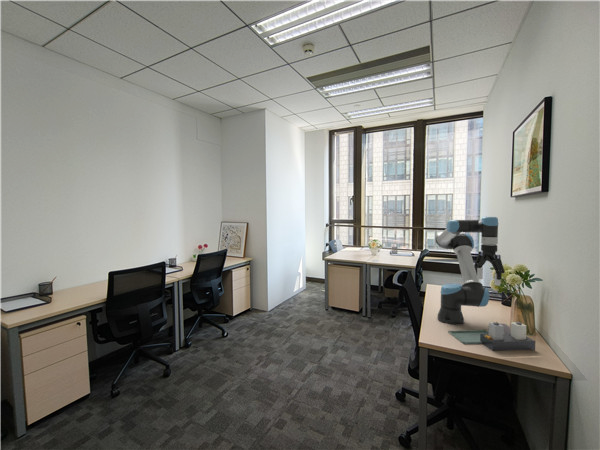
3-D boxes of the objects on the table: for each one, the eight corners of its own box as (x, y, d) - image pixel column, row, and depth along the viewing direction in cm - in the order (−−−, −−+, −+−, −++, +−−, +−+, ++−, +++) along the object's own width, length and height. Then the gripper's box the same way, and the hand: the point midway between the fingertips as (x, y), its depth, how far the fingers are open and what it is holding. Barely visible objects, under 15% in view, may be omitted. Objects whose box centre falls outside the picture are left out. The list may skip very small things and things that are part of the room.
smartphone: (505, 323, 170) (519, 334, 155) (505, 325, 170) (519, 335, 155) (492, 322, 171) (504, 332, 157) (492, 324, 171) (504, 334, 157)
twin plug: (488, 341, 143) (488, 321, 143) (496, 341, 144) (497, 321, 143) (494, 345, 139) (495, 324, 139) (503, 345, 139) (503, 324, 139)
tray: (448, 333, 158) (448, 330, 158) (485, 332, 159) (485, 329, 159) (463, 344, 144) (463, 342, 144) (504, 344, 145) (504, 341, 145)
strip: (480, 343, 146) (480, 332, 145) (520, 342, 146) (520, 331, 146) (492, 351, 137) (492, 340, 136) (535, 350, 137) (535, 339, 137)
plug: (518, 340, 144) (519, 320, 143) (525, 344, 140) (526, 324, 139) (510, 340, 144) (511, 320, 143) (517, 345, 139) (518, 324, 139)
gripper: (468, 242, 164) (467, 276, 165) (499, 247, 140) (498, 288, 141) (480, 241, 165) (479, 276, 166) (514, 247, 140) (512, 288, 141)
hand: (488, 282), depth 153 cm, fingers open, 13 cm apart
